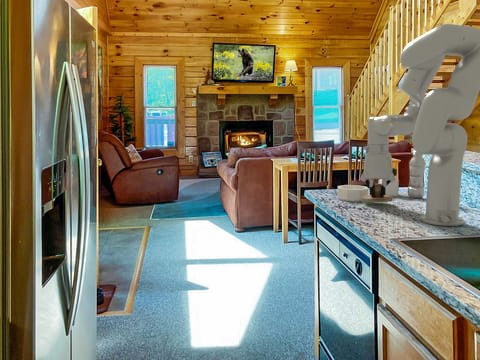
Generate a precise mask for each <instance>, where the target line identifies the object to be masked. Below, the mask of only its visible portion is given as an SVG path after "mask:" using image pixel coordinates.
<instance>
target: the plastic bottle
mask: <svg viewBox="0 0 480 360" xmlns="http://www.w3.org/2000/svg"><path fill="white" fill-rule="evenodd" d="M423 155H424V154H420V153H418V152H417V151H416V150H415V149H414V150H413V151H412V157H411V159H410V160H409V163H408V165H409V166H408V167H409V181H408V188H407V191H406V192H407V196H408V197H409V198H412V199H422V198H423V197H424V195H425V188H424V178H425V177H424V176H425V171H426V166H427V164H426V163H427V162H426V161H425V158H423Z"/></svg>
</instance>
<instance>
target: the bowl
mask: <svg viewBox="0 0 480 360" xmlns="http://www.w3.org/2000/svg"><path fill="white" fill-rule="evenodd" d="M366 195H369V187H368V186H365V185H359V184H344V185H337V200H341V201H346V202H361V201H364V200H363V196H366Z"/></svg>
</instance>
